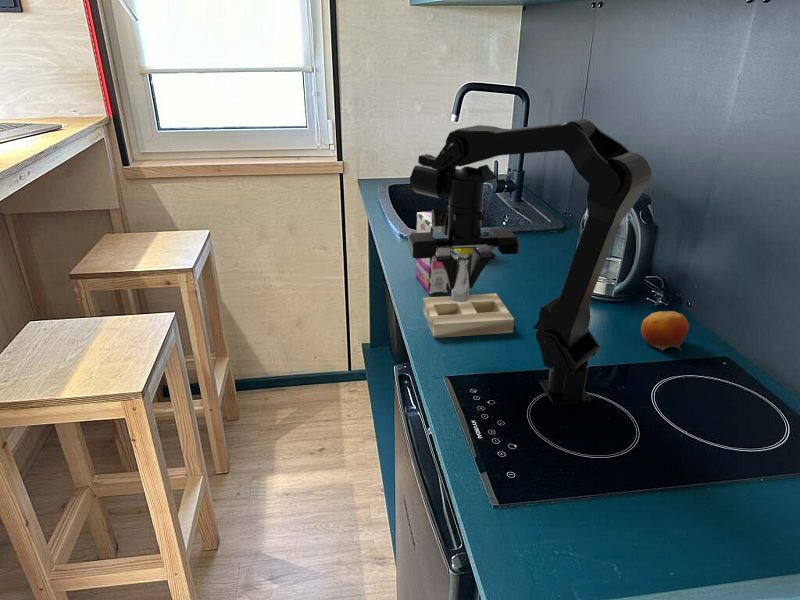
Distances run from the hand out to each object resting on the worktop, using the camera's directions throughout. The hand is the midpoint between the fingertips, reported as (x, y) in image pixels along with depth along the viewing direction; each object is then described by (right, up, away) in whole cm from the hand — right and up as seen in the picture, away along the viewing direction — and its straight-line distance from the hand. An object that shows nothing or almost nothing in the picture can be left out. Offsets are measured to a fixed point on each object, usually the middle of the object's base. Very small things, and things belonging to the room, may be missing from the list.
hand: (460, 287), depth 102 cm
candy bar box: (-3, +1, +31) cm, 31 cm away
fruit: (+39, -11, +7) cm, 41 cm away
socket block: (+3, -7, +14) cm, 16 cm away
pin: (0, -2, +1) cm, 2 cm away
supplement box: (+6, +10, +50) cm, 51 cm away
